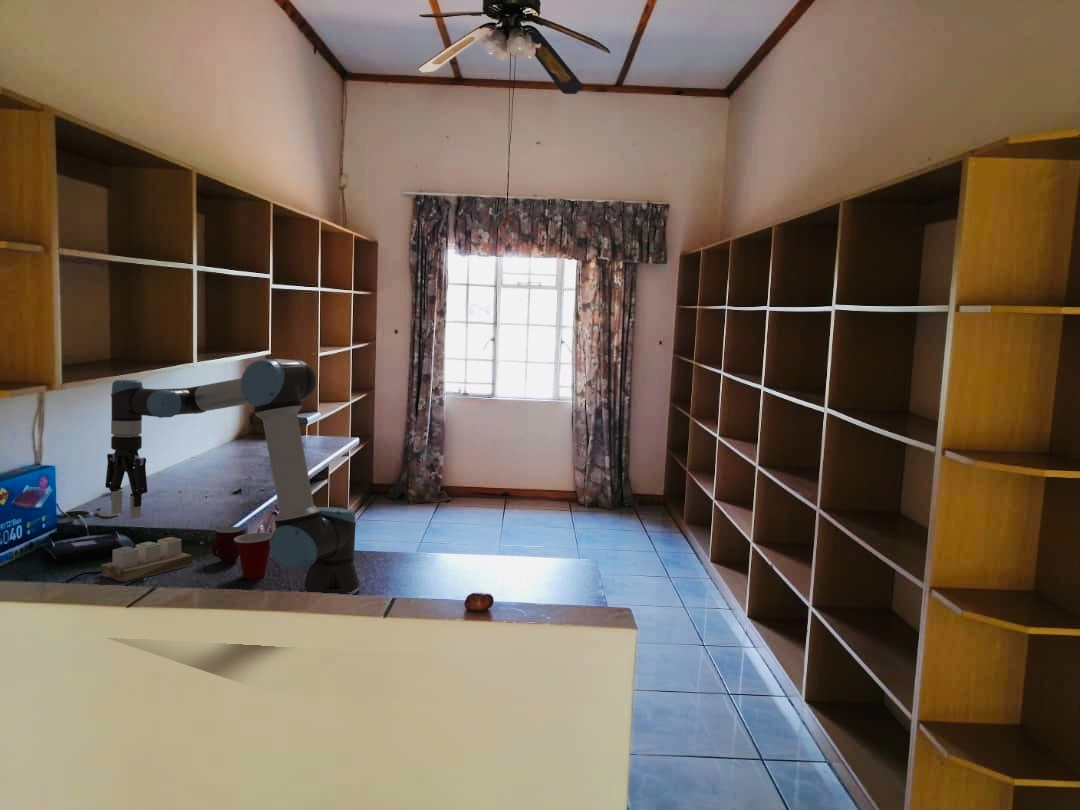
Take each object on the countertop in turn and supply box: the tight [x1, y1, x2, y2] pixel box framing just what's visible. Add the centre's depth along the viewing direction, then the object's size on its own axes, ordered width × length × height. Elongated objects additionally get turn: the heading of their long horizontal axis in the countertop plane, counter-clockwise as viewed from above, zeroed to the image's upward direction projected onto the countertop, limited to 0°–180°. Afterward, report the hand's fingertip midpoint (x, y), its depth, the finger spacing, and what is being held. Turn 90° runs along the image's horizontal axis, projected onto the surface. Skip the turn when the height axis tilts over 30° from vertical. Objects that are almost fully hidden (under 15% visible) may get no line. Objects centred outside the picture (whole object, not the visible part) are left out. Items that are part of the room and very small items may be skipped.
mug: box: [211, 526, 245, 564], centre depth 233 cm, size 11×8×10 cm
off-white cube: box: [111, 546, 138, 569], centre depth 216 cm, size 5×5×5 cm
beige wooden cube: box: [135, 541, 160, 564], centre depth 223 cm, size 5×5×5 cm
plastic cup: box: [234, 532, 273, 580], centre depth 221 cm, size 11×11×12 cm
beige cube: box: [157, 536, 182, 558], centre depth 229 cm, size 5×5×5 cm
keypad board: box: [100, 552, 193, 583], centre depth 223 cm, size 11×21×3 cm, turn 152°
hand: (125, 515), depth 216 cm, fingers open, 8 cm apart
